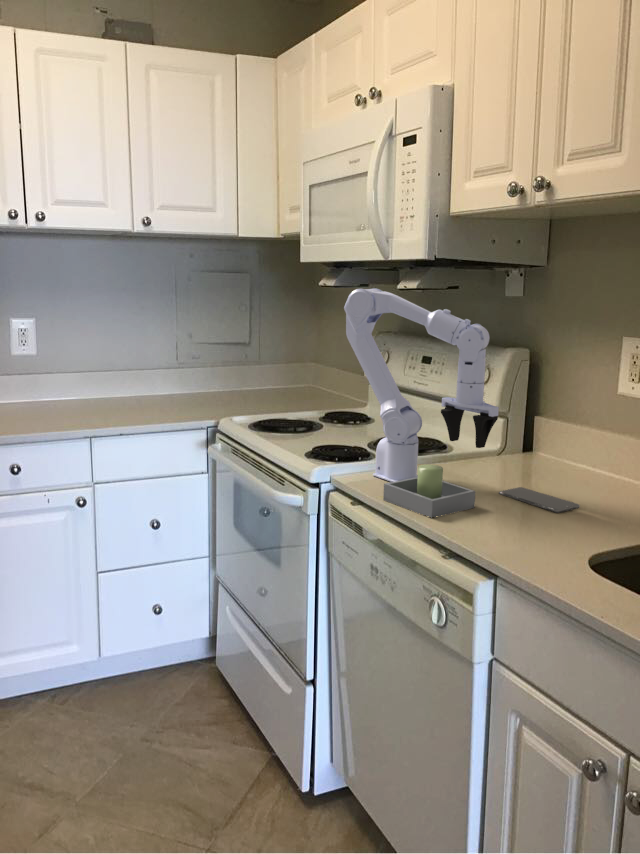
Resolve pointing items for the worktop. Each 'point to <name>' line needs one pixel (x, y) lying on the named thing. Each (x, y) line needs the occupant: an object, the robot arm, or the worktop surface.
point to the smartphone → (540, 500)
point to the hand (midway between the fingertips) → (466, 443)
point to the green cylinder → (430, 481)
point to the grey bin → (408, 498)
